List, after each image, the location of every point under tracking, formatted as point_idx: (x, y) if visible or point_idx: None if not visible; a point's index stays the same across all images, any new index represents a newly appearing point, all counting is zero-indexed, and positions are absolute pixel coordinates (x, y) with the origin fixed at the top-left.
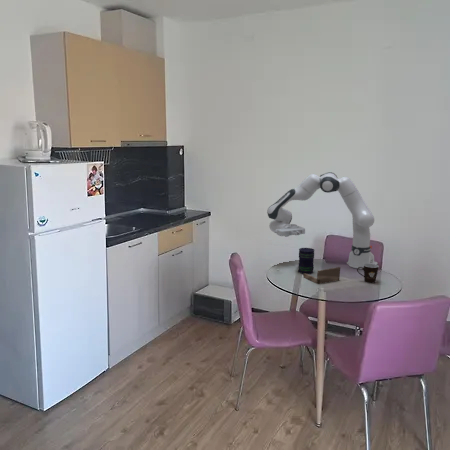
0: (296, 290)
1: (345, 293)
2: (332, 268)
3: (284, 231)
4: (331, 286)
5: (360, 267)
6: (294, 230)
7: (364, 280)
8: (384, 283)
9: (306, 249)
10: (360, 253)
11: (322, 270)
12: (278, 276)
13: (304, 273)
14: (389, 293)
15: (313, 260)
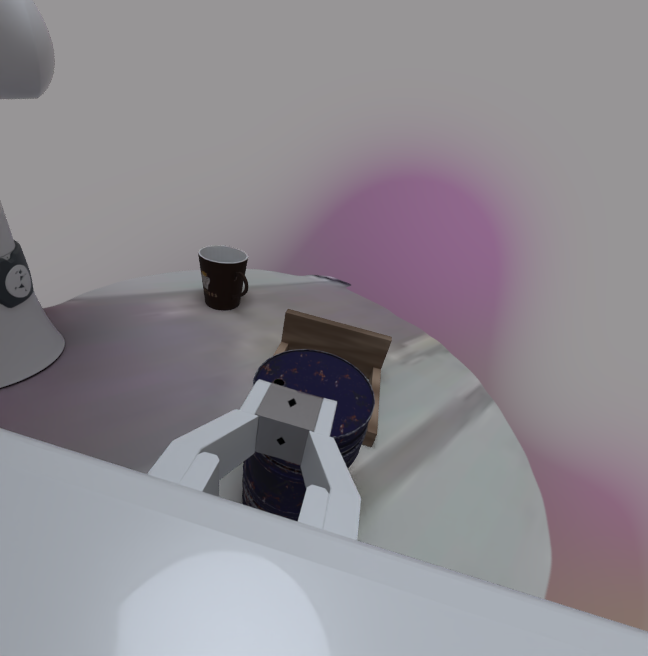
0: (482, 393)
1: (364, 316)
2: (320, 320)
3: (600, 617)
4: None
5: (242, 274)
6: (218, 500)
7: (230, 308)
8: None
9: (308, 393)
10: (30, 277)
11: (373, 332)
12: (493, 553)
13: (373, 431)
14: (282, 273)
15: None
